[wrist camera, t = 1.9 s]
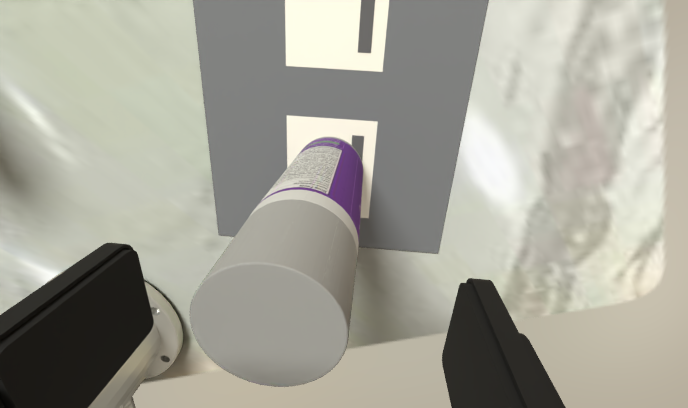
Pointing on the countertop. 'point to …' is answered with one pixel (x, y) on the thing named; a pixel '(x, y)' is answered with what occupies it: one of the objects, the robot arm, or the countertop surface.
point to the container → (288, 274)
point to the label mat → (340, 102)
